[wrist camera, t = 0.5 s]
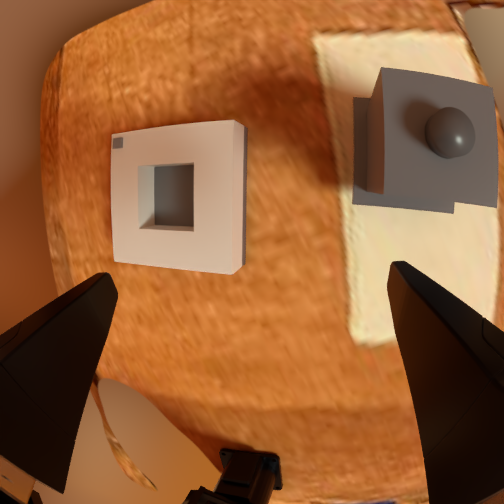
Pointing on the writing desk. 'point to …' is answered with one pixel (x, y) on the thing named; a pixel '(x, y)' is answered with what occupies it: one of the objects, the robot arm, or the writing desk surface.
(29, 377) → the robot arm
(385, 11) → the writing desk surface
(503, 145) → the writing desk surface
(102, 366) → the writing desk surface
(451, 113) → the grey block with knob
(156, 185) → the socket
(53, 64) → the writing desk surface
